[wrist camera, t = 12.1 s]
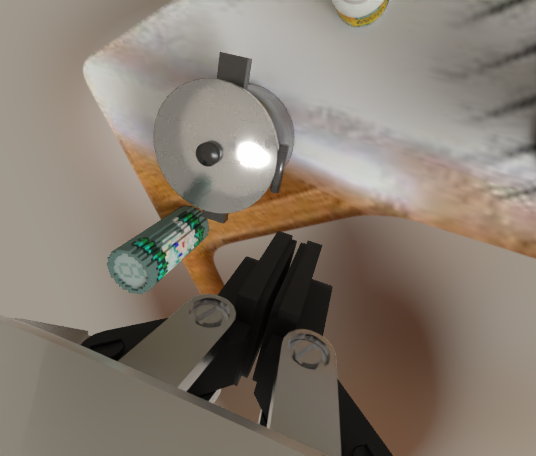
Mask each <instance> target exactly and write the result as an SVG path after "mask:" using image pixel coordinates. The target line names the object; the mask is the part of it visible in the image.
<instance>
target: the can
mask: <svg viewBox="0 0 536 456" xmlns="http://www.w3.org/2000/svg"><path fill="white" fill-rule="evenodd" d="M208 231H209V226H208V221H207V219H205V217H202V213H201V212H199V209H194V207H188V206H182V207H181V208H179V209H177V210H176V211H174V212H173V213H171V214H170V215H168V216H166V217H165V218H163V219H162V220H160V221H159V222H157V223H156V224H154V225H153V226H151V227H149V228H148V229H146V230H145V231H143V232H142V233H140V234H139V235H137V236H136V237H134V238H132V239H131V240H129V241H128V242H126V243H125V244H123V245H122V246H120V247H118V248H117V249H115V250H114V251H112V252H111V254H110V257H108V261H109V262H108V263H107V266H108V269H109V272H110V275H111V277H112V278H114V279H115V282H116V283H118V284H119V286H122V288H123V289H126V290H128V291H129V293H137V294H143V293H144V292H147V291H149V290H150V289H151V288H152V287H153V286H154V285H155V284H156V283H157V282H158V281H160V280H161V279H162V278H163V277H164V276H165V275H166V274H167V273H168V272H169V271H170V270H171V269H173V267H175V266H176V265H177V264H178V263H179V262H180V261H181V260H182V259H183V258H184V257H185V256H187V255H188V254H189V253H190V252H191V251H192V250H193V249H194V248H195V247H196V246H197V245H198V244H200V243H201V242H202V241H203V240H204V238H206V236H207V235H208V233H207V232H208Z"/></svg>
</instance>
